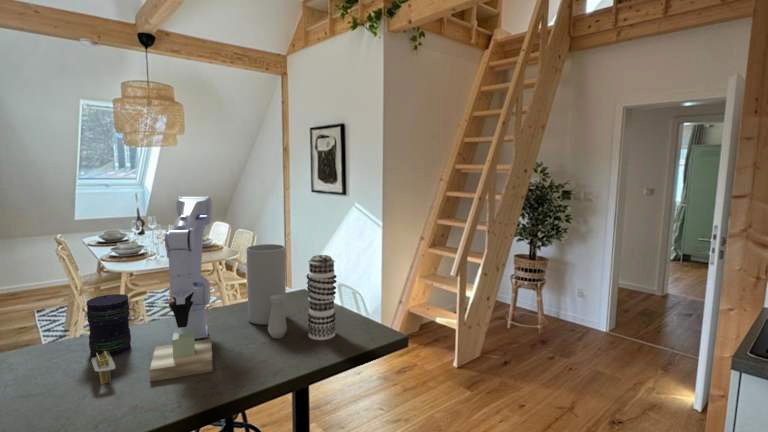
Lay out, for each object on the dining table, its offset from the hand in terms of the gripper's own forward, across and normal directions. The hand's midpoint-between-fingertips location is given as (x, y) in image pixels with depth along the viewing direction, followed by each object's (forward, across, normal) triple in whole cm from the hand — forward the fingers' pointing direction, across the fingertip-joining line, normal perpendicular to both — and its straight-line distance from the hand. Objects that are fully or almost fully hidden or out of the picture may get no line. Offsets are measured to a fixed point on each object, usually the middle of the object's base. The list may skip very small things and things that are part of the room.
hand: (183, 322), depth 114 cm
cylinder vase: (+10, +20, -25) cm, 33 cm away
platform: (+10, -8, +18) cm, 22 cm away
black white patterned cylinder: (+10, 0, -39) cm, 40 cm away
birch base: (+9, -6, 0) cm, 11 cm away
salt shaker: (+10, +4, -26) cm, 28 cm away
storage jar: (+10, +10, +19) cm, 24 cm away
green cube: (+6, -6, 0) cm, 9 cm away
